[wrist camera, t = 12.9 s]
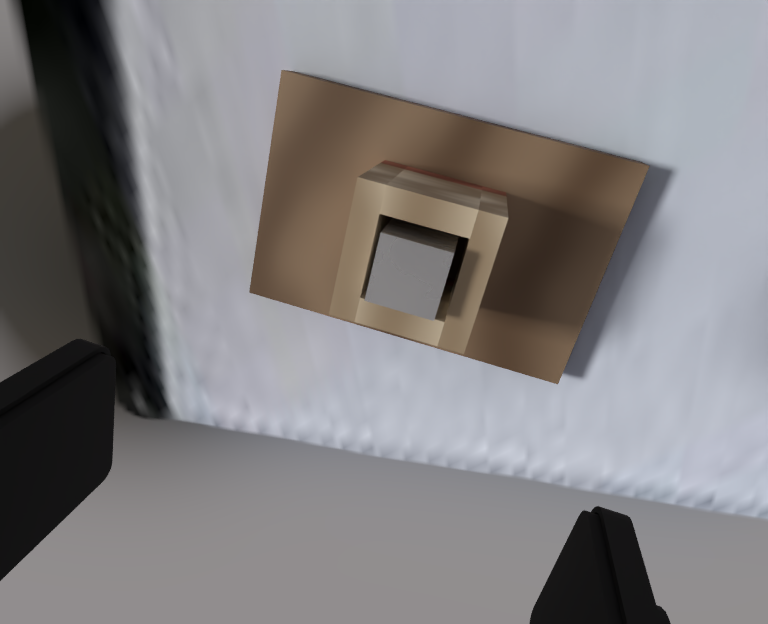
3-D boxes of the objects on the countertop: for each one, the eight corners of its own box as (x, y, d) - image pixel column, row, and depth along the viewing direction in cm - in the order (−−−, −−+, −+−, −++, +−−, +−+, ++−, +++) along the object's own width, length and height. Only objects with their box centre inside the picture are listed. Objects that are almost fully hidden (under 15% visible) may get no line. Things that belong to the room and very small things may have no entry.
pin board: (641, 162, 27) (649, 166, 26) (555, 371, 32) (558, 384, 30) (292, 71, 29) (281, 70, 27) (259, 284, 33) (249, 292, 32)
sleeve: (506, 192, 27) (508, 218, 22) (469, 305, 30) (463, 354, 24) (385, 159, 28) (357, 177, 22) (359, 273, 30) (328, 314, 25)
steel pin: (464, 216, 28) (454, 253, 22) (447, 270, 29) (434, 321, 23) (407, 200, 28) (380, 232, 22) (393, 255, 30) (364, 300, 23)
